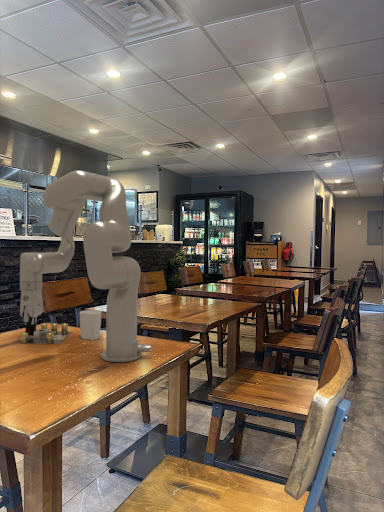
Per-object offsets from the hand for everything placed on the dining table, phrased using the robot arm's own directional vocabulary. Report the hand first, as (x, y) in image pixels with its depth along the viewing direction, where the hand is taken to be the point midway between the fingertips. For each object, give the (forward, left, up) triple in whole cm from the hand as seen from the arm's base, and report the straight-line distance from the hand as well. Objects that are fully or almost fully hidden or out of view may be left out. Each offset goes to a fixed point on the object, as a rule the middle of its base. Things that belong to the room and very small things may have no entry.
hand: (30, 334), depth 137 cm
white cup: (-22, -1, -2) cm, 22 cm away
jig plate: (-6, 0, -1) cm, 6 cm away
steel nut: (-4, 0, -1) cm, 4 cm away
